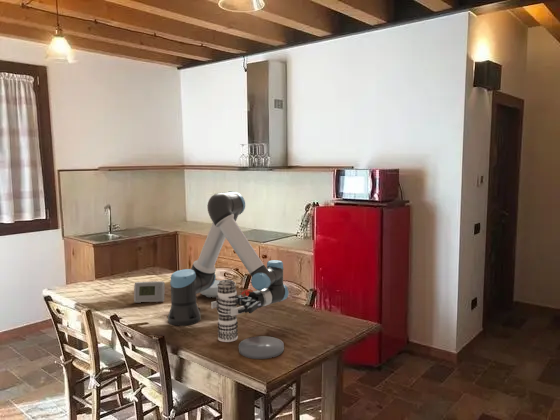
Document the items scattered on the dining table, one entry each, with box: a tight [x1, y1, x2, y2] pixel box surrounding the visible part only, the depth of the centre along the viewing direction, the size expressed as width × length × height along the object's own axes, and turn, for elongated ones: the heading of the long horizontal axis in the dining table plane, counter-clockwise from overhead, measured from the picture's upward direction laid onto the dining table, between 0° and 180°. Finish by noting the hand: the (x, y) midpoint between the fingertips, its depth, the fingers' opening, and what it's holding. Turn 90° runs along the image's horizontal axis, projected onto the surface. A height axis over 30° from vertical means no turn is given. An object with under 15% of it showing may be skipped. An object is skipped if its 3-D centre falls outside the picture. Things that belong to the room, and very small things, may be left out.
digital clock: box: [133, 280, 166, 304], centre depth 247 cm, size 16×9×11 cm, turn 84°
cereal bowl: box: [200, 279, 222, 298], centre depth 257 cm, size 17×17×7 cm
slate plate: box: [238, 335, 285, 360], centre depth 182 cm, size 18×18×2 cm
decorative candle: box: [215, 279, 239, 343], centre depth 193 cm, size 9×9×25 cm
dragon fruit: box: [240, 288, 254, 297], centre depth 241 cm, size 8×8×12 cm
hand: (221, 309), depth 191 cm, fingers open, 13 cm apart
